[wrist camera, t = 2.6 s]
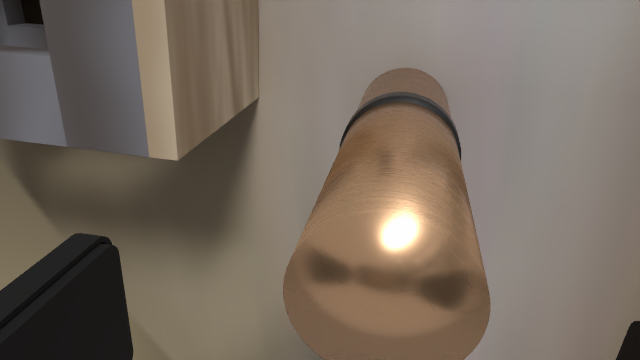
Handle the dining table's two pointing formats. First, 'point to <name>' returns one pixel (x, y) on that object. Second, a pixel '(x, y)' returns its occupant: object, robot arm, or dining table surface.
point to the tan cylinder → (392, 236)
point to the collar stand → (127, 73)
